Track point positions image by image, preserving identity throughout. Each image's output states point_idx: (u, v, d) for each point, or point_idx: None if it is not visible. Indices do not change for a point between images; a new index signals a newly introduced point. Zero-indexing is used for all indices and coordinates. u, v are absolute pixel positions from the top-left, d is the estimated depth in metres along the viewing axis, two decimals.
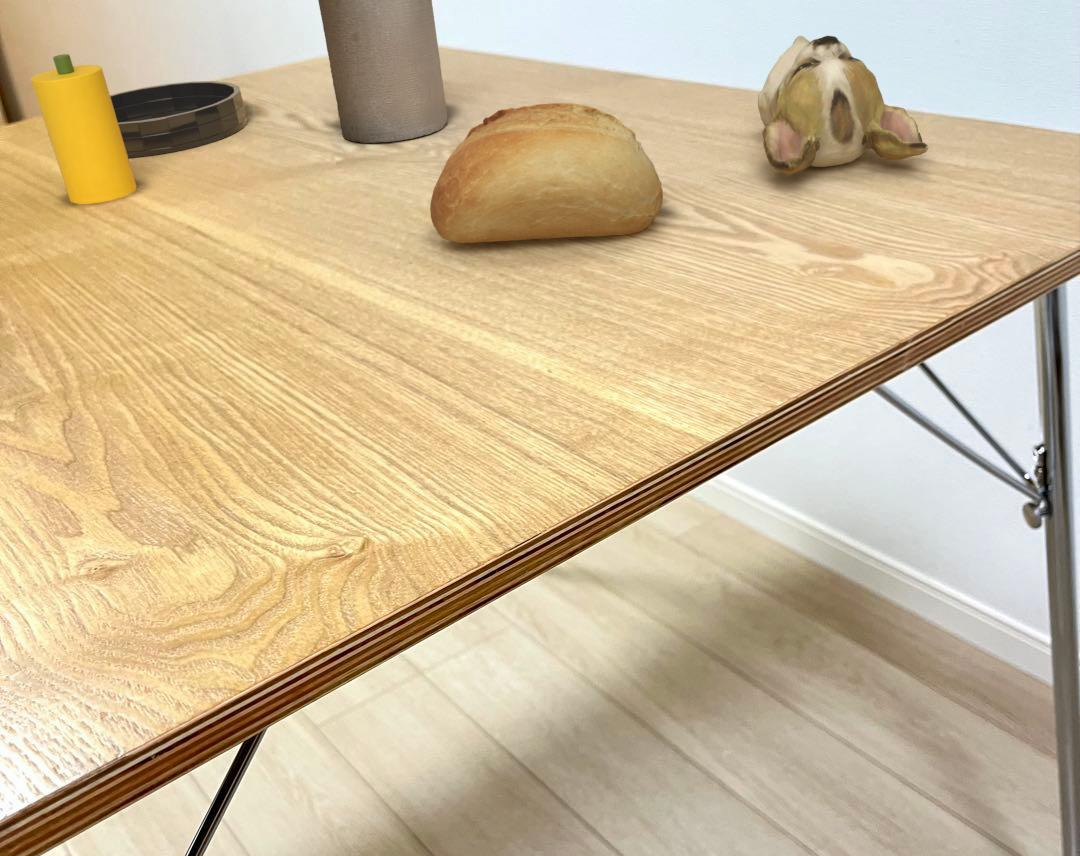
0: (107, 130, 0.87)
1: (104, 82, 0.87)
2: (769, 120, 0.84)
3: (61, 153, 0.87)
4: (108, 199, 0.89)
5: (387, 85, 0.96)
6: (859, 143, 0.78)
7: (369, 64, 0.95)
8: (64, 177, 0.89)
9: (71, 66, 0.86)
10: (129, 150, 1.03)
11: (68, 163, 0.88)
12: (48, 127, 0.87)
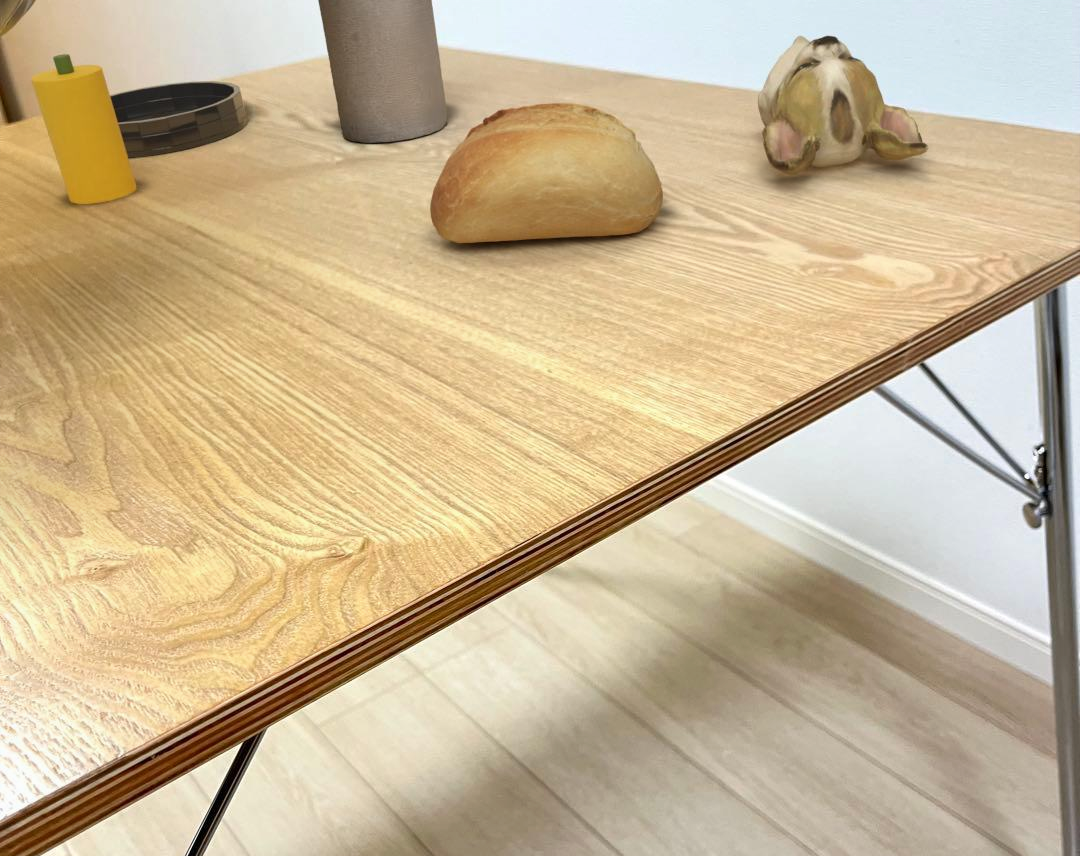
0: (107, 130, 0.87)
1: (104, 82, 0.87)
2: (769, 120, 0.84)
3: (61, 153, 0.87)
4: (108, 199, 0.89)
5: (387, 85, 0.96)
6: (859, 143, 0.78)
7: (369, 64, 0.95)
8: (64, 177, 0.89)
9: (71, 66, 0.86)
10: (129, 150, 1.03)
11: (68, 163, 0.88)
12: (48, 127, 0.87)
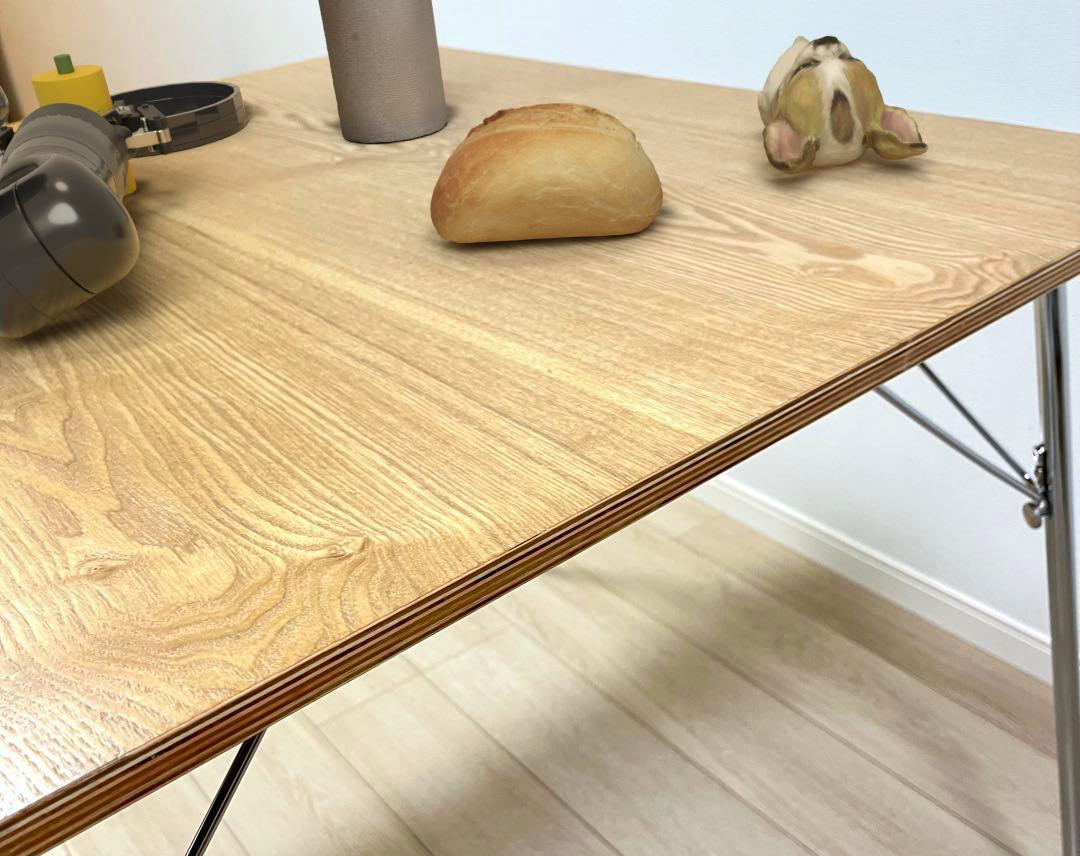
0: None
1: (104, 82, 0.87)
2: (769, 120, 0.84)
3: None
4: None
5: (387, 85, 0.96)
6: (859, 143, 0.78)
7: (369, 64, 0.95)
8: None
9: (71, 66, 0.86)
10: None
11: None
12: None
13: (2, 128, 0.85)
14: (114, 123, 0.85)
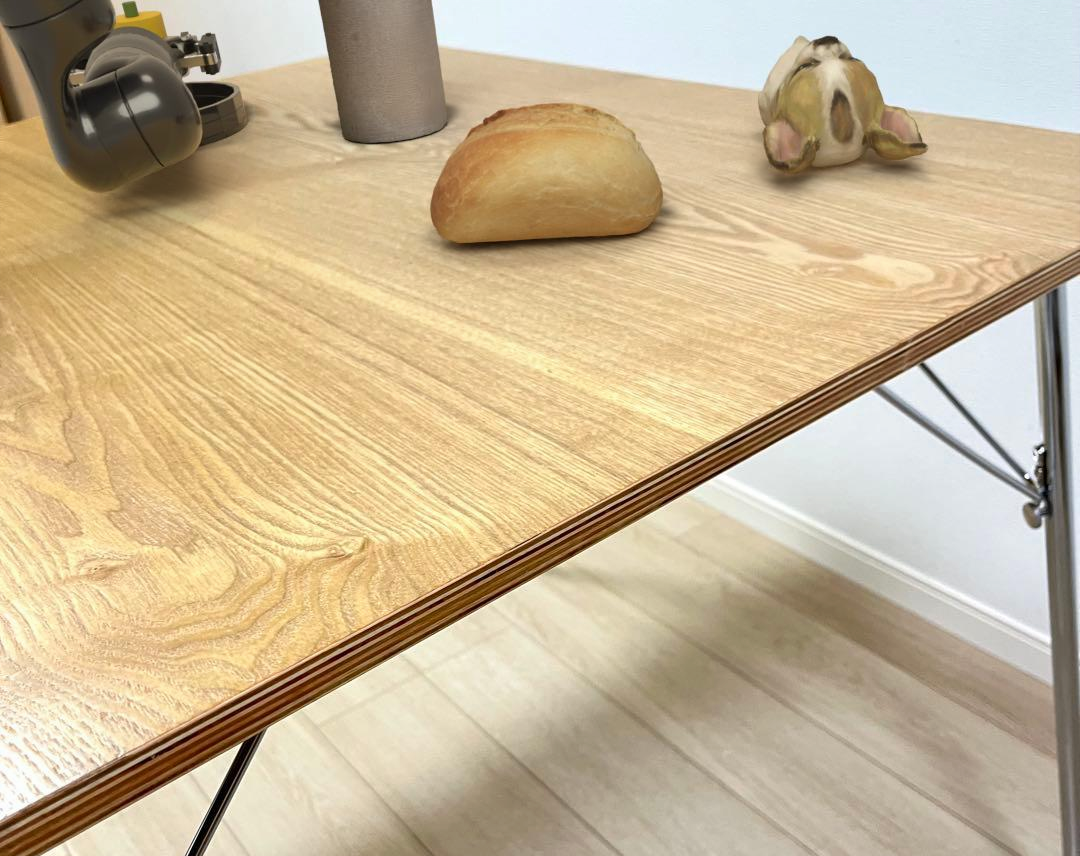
0: None
1: (163, 24, 1.05)
2: (769, 120, 0.84)
3: None
4: None
5: (387, 85, 0.96)
6: (859, 143, 0.78)
7: (369, 64, 0.95)
8: None
9: (136, 11, 1.04)
10: None
11: None
12: None
13: None
14: None
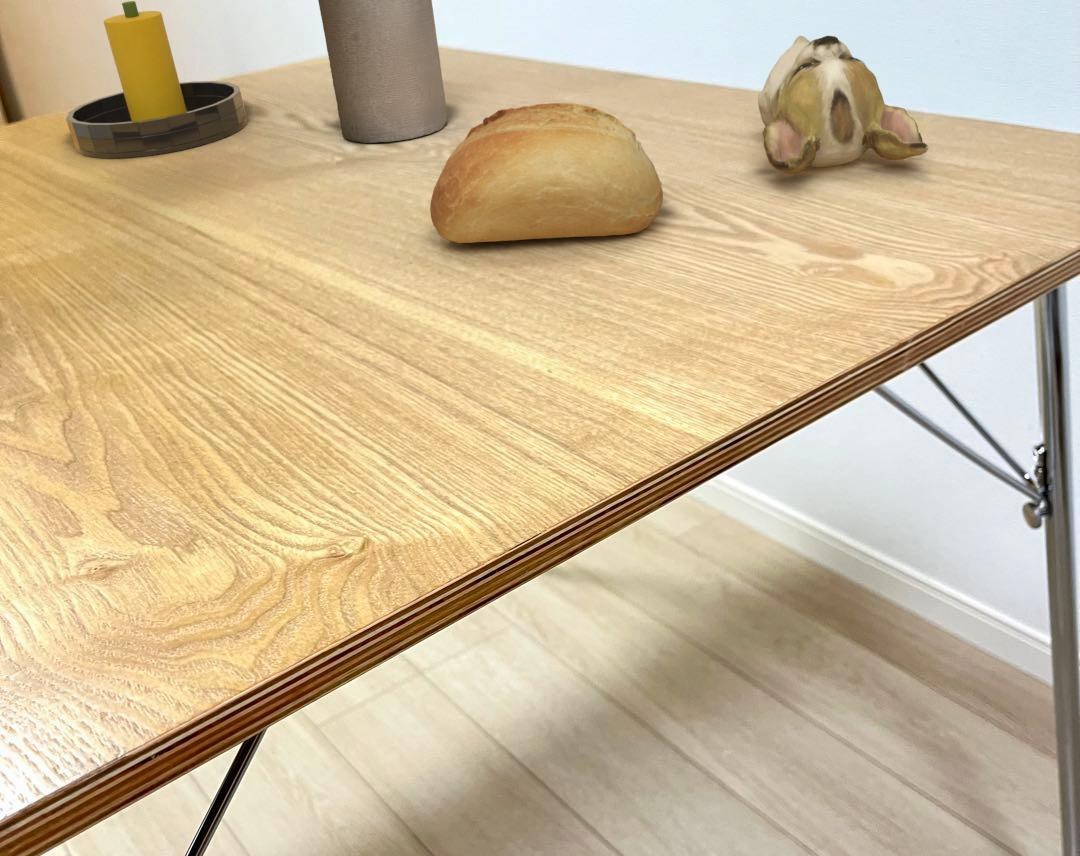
0: (165, 64, 1.06)
1: (163, 24, 1.05)
2: (769, 120, 0.84)
3: (127, 83, 1.06)
4: None
5: (387, 85, 0.96)
6: (859, 143, 0.78)
7: (369, 64, 0.95)
8: (129, 104, 1.07)
9: (136, 11, 1.04)
10: (129, 150, 1.03)
11: (133, 92, 1.06)
12: (117, 61, 1.05)
13: None
14: None
